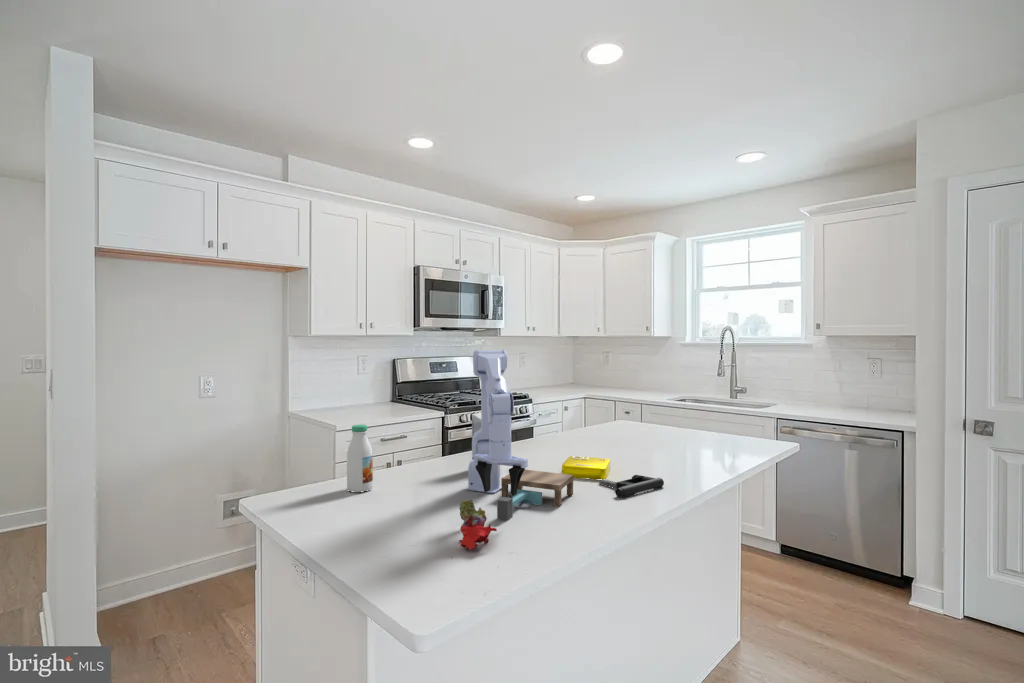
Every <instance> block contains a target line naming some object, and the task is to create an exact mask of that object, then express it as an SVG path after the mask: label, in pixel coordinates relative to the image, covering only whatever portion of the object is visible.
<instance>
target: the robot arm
mask: <svg viewBox="0 0 1024 683" xmlns="http://www.w3.org/2000/svg"><path fill="white" fill-rule="evenodd" d="M472 364H473V365H472V369H473V370H472V371H473V375H474V376H475V377H479V379H480V390H481V391H480V393H481V395H480V397H481V398H480V402H481V406H480V409H481V410H480V411H481V412H480V413H481V429H480V430H478V431H477V432H476V433H474V435H473V440H472V439H471V458H472V457H473V460H472V459H471V460H470V461H469V464H468V469H467V470H468V471H467V481H468V482H467V488H466V490H467V491H472V492H473V491H474V492H481V493H487V494H495V493H497V492H498V491H499V492H500V491H501V490H502V484H500V483H501V479H500V478H501V476H500V475H501V474H500V473H501V470H500V469H501V466H505V467H506V466H507V467H511V468H509V469H508V474H510V481H511V484H510V495H511V497H512V496H514V495H516V494H517V489H518V485H519V482H520V479H521V476H522V474H523V472H524V470H526V468H527V467H528V466H529V464H528V463H529V461H528V458H522V457H518V456H513V455H512V416H513V415H514V408H515V402H514V396H513V393H512V392H511V391H509V388H508V383H507V380H506V379H505V378H504V376H503V375H504V373H505V372H506V370H507V369H508V353H507V351H506V349H486V350H485V349H482V350H479V349H474V351H473V353H472Z"/></svg>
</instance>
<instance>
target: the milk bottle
mask: <svg viewBox="0 0 1024 683" xmlns="http://www.w3.org/2000/svg"><path fill="white" fill-rule="evenodd" d="M367 433H368V425H366V424H353V425H352V427H351V434H352V437H351V440H350V443H349V446H348V448H347V452H346V453H347V454H346V487H347V488H346V489H347V491H348V490H349V491H354V492H361V491H367V490H370V489H371V490H372V489H373V488H374V486H373V485H374V476H373V475H374V467H373V466H374V465H373V461H374V458H373V449H372V446H371V443H370V441H369V439H368V436H367ZM371 490H370V491H371ZM349 491H348V492H349ZM367 492H368V491H367ZM361 493H362V492H361Z"/></svg>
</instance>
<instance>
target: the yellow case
mask: <svg viewBox="0 0 1024 683" xmlns="http://www.w3.org/2000/svg"><path fill="white" fill-rule="evenodd" d="M609 471H610V472H611V459H609V458H606V457H605V458H603V457H591V456H590V457H589V456H581V455H570V456H569V457H567V458H566V459H565V461H564V462H563V463H562V464H561V474H569V475H573V479H579V478H589V479H588V480H592V479H605V480H607V479H606V478H608V476H609V474H610V472H609Z"/></svg>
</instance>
